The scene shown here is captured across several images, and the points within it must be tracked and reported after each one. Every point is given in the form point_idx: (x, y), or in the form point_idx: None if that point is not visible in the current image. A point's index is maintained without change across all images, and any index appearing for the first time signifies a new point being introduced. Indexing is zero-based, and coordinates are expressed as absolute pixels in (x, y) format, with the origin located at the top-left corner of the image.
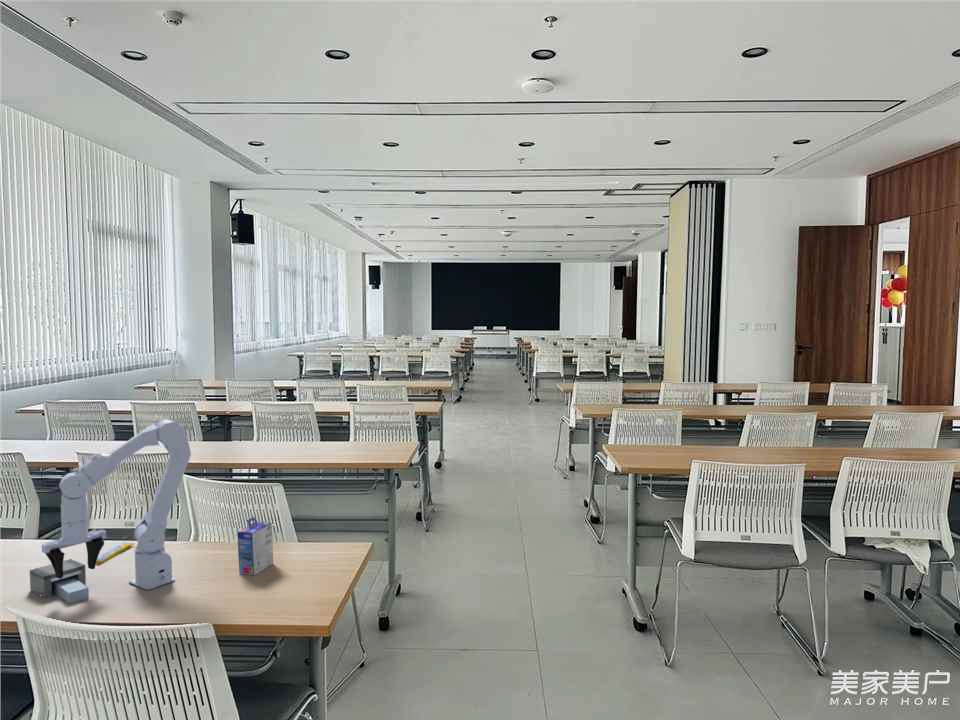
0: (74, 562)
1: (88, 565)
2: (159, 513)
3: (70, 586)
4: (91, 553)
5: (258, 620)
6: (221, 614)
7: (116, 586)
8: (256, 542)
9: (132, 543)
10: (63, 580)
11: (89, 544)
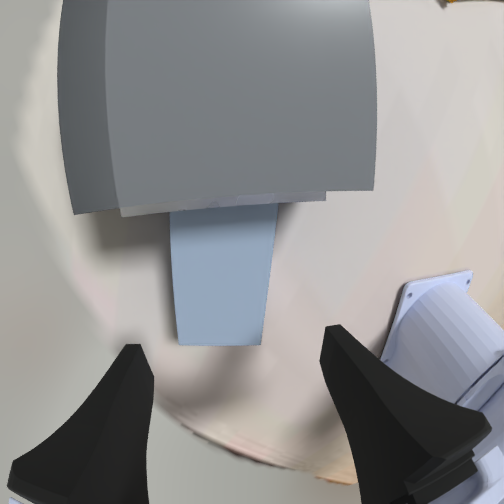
0: (356, 60)
1: (330, 340)
2: None
3: (210, 280)
4: (359, 431)
5: (339, 476)
6: (336, 465)
7: (370, 281)
8: None
9: None
10: None
11: (391, 476)
